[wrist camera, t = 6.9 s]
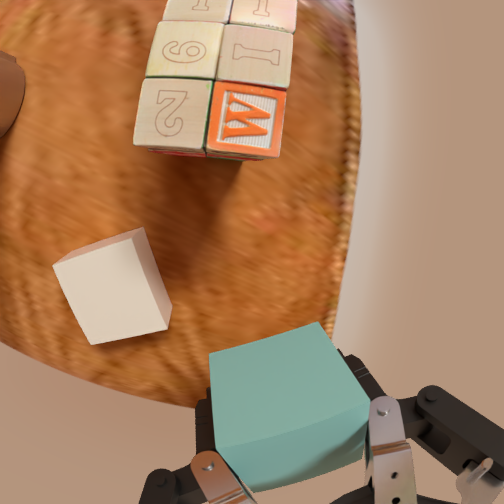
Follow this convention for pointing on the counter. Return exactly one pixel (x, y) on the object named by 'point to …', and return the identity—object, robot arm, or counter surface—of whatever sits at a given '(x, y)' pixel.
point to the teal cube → (286, 408)
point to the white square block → (115, 288)
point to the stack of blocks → (217, 79)
